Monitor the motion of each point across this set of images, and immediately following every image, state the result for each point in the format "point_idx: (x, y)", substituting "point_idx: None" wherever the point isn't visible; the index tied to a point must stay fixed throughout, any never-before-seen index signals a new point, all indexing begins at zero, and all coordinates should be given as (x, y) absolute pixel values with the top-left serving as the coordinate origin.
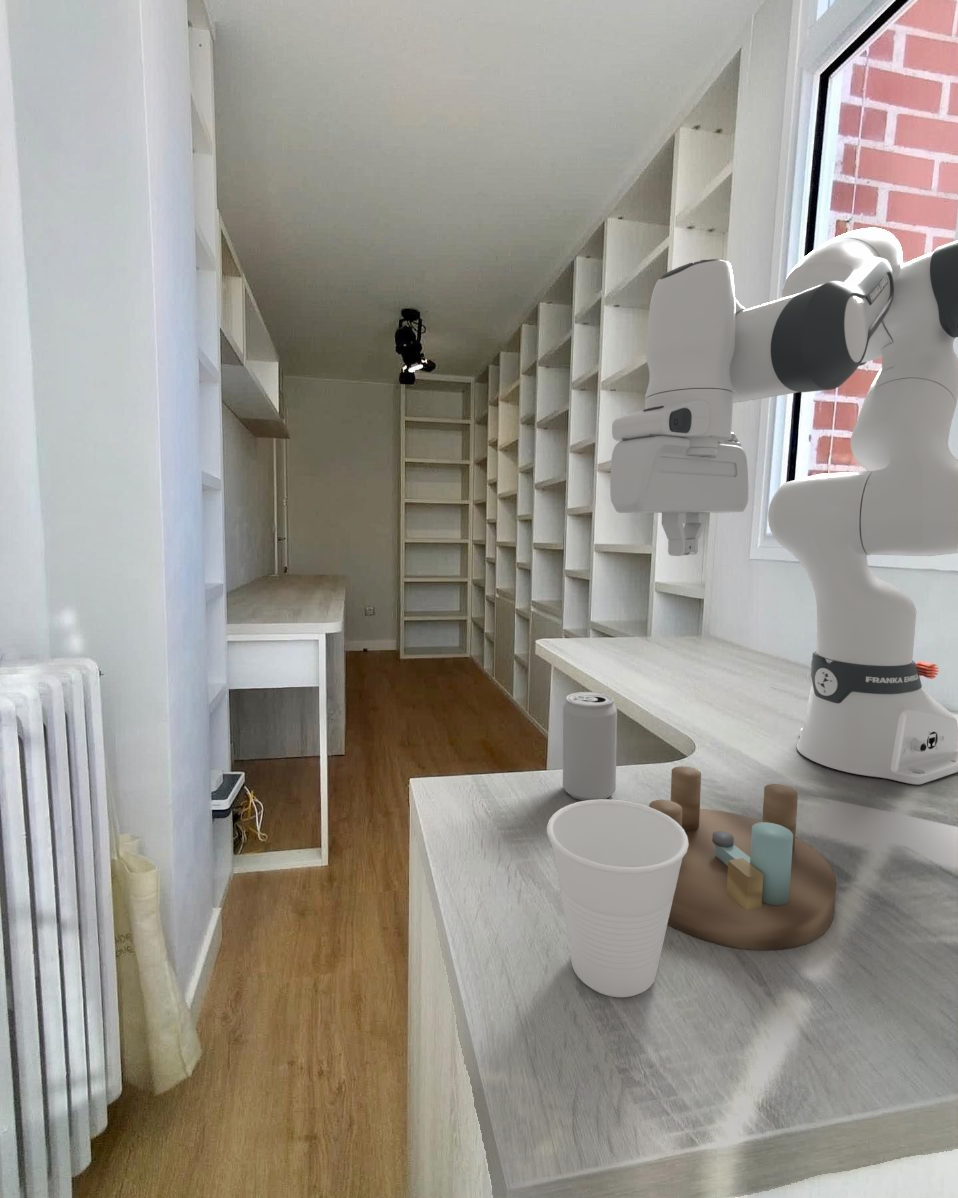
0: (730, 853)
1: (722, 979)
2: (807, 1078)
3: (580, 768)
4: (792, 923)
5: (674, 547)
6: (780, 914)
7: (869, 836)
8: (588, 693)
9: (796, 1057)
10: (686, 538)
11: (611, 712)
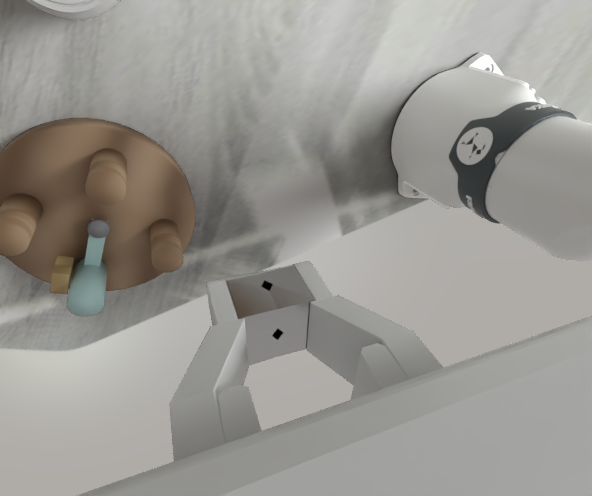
0: (90, 241)
1: (7, 278)
2: (3, 333)
3: None
4: None
5: (213, 321)
6: None
7: (280, 220)
8: None
9: (9, 325)
10: (309, 322)
11: (82, 17)
